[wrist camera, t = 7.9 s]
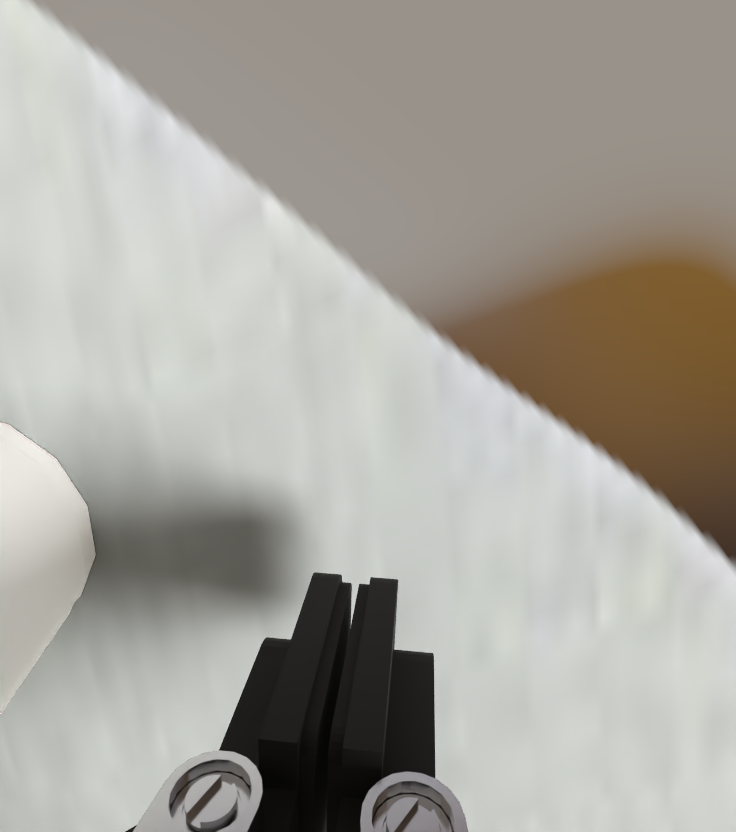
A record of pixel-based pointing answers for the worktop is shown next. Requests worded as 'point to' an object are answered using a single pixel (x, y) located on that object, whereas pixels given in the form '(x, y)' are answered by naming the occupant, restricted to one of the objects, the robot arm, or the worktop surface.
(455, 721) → the worktop surface
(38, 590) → the foam cup
